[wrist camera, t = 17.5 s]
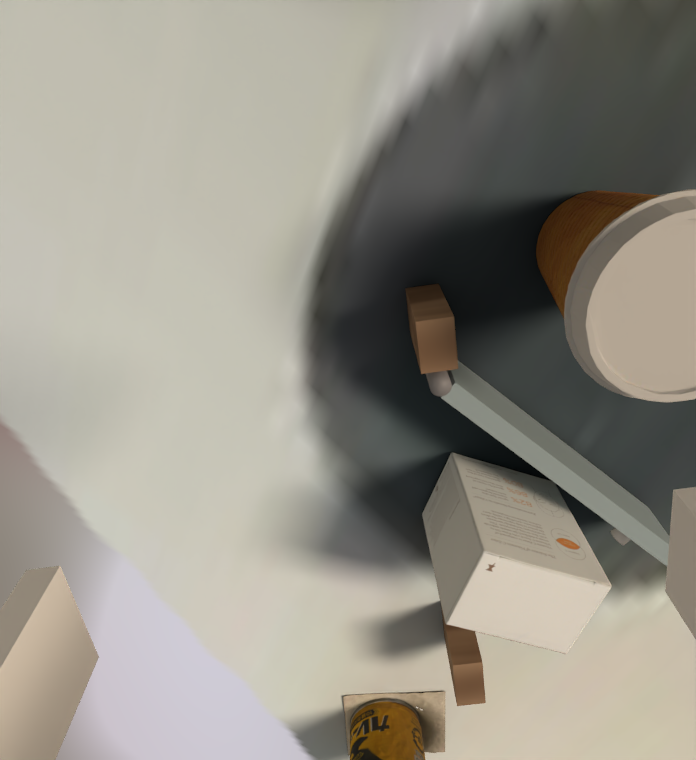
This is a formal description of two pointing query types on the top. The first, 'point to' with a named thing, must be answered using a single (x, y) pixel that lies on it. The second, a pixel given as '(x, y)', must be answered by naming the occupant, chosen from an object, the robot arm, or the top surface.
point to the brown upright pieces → (434, 354)
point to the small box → (510, 556)
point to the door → (551, 458)
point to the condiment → (394, 725)
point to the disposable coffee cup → (627, 288)
